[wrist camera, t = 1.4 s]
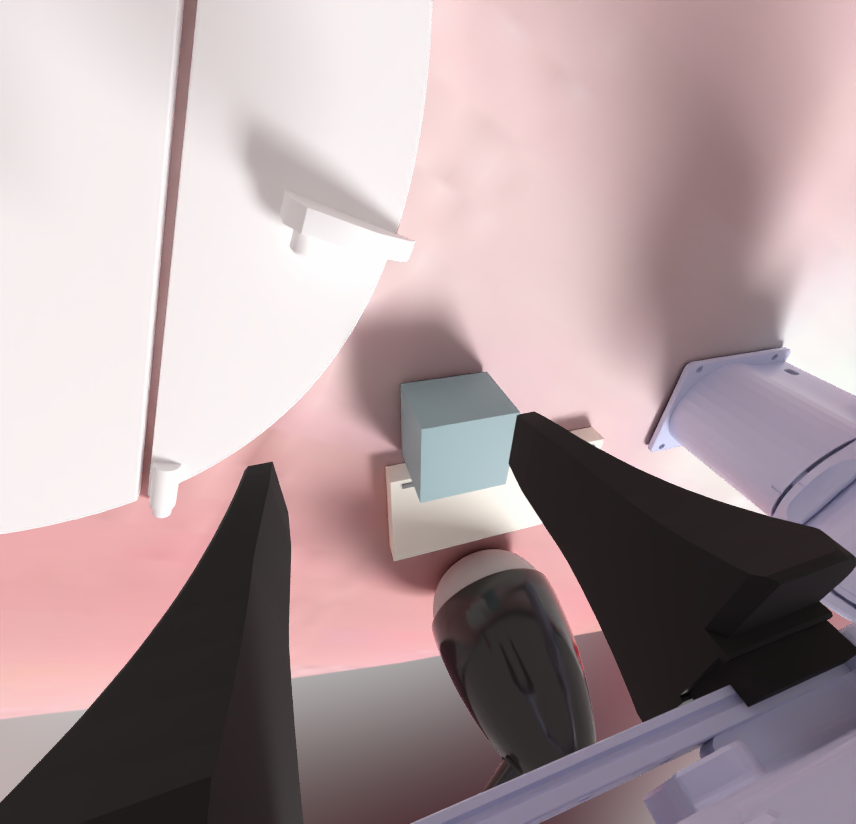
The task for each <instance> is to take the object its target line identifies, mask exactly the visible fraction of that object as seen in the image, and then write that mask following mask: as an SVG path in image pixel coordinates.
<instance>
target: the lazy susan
mask: <svg viewBox="0 0 856 824" xmlns="http://www.w3.org/2000/svg"><path fill="white" fill-rule="evenodd" d="M184 1H185V0H0V534H5V533H12V532H18V531H23V530H28V529H34V528H39V527H44V526H48V525H53V524H58V523H62V522H66V521H70V520H74V519H78V518H82V517H86V516H89V515H93V514H97V513H100V512H103V511H107V510H110V509H113V508H116V507H120V506H122V505H125V504H128V503H131V502H134V501H136V500H137V498H138V496H139V493H140V490H141V482H142V471H143V460H144V449H145V437H146V426H147V415H148V404H149V393H150V381H151V370H152V359H153V348H154V337H155V326H156V314H157V303H158V292H159V281H160V270H161V258H162V247H163V236H164V225H165V214H166V203H167V191H168V180H169V169H170V158H171V147H172V135H173V124H174V113H175V102H176V91H177V80H178V68H179V57H180V46H181V35H182V24H183V12H184ZM431 26H432V0H198V1H197V10H196V20H195V30H194V40H193V50H192V60H191V70H190V80H189V90H188V100H187V110H186V120H185V129H184V139H183V149H182V159H181V169H180V179H179V189H178V199H177V209H176V219H175V229H174V238H173V248H172V258H171V268H170V278H169V288H168V298H167V308H166V318H165V328H164V338H163V348H162V357H161V367H160V377H159V387H158V397H157V407H156V417H155V427H154V437H153V447H152V457H151V466H150V476H149V486H148V496H150V499H149V506H150V508H151V509H152V514H153V516H154V517H157V518H165V517H167V516H169V515H170V514H171V510H172V508H173V507H174V506H175V504H176V498H177V491H178V484H179V483H180V482H182V481H185V480H187V479H189V478H191V477H193V476H195V475H197V474H199V473H201V472H202V471H204V470H206V469H208V468H210V467H211V466H213V465H215V464H217V463H218V462H220V461H222V460H223V459H225V458H227V457H228V456H230V455H231V454H233V453H234V452H236V451H237V450H239V449H240V448H242V447H243V446H245V445H246V444H248V443H249V442H250V441H252V440H253V439H255V438H256V437H257V436H259V435H260V434H261V433H262V432H264V431H265V430H266V429H267V428H269V427H270V426H271V425H272V424H273V423H275V422H276V421H277V420H278V419H279V418H280V417H281V416H283V415H284V414H285V413H286V412H287V411H288V410H289V409H290V408H291V407H292V406H293V405H294V404H295V403H296V402H297V401H298V400H299V399H300V398H301V397H302V396H303V395H304V394H305V393H306V392H307V391H308V390H309V389H310V387H311V386H312V385H313V384H314V383H315V382H316V381H317V379H318V378H319V377H320V376H321V375H322V373H323V372H324V371H325V370H326V368H327V367H328V366H329V364H330V363H331V362H332V360H333V359H334V358H335V356H336V355H337V353H338V352H339V351H340V349H341V348H342V346H343V345H344V343H345V342H346V340H347V339H348V337H349V336H350V334H351V332H352V331H353V329H354V327H355V325H356V324H357V322H358V320H359V319H360V317H361V315H362V313H363V311H364V309H365V307H366V306H367V304H368V302H369V300H370V298H371V296H372V293H373V291H374V289H375V287H376V285H377V283H378V281H379V278H380V276H381V273H382V271H383V269H384V266H385V264H386V261H387V259H389V260H395V261H401V262H405V261H408V260H409V257H410V254H411V252H412V249H413V246H414V244H415V241H414V240H411V239H409V238H406V237H404V236H401V235H399V234H396V233H397V230H398V227H399V224H400V221H401V217H402V214H403V210H404V207H405V203H406V200H407V196H408V191H409V187H410V183H411V179H412V175H413V170H414V165H415V160H416V155H417V150H418V145H419V139H420V132H421V126H422V120H423V113H424V105H425V97H426V89H427V79H428V68H429V57H430V42H431Z"/></svg>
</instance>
